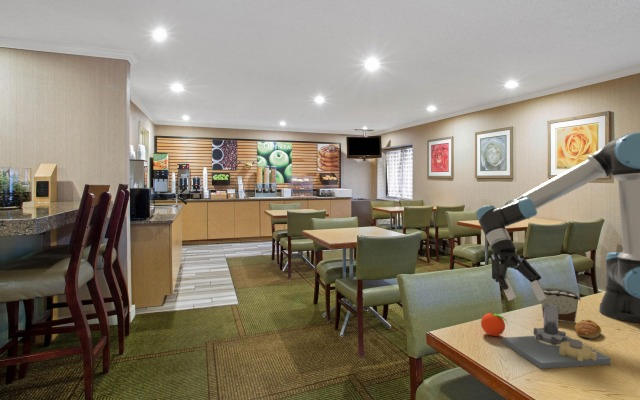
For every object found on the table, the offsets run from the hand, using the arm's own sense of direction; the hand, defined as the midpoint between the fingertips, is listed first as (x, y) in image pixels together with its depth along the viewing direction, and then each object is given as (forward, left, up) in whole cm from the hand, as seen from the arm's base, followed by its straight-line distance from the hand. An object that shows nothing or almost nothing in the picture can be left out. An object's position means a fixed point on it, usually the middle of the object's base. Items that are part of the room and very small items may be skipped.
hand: (527, 299), depth 118 cm
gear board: (+5, +17, -10) cm, 20 cm away
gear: (+1, +12, -8) cm, 15 cm away
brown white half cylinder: (-18, -8, -10) cm, 23 cm away
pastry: (-17, +6, -10) cm, 21 cm away
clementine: (+14, +3, -10) cm, 17 cm away
